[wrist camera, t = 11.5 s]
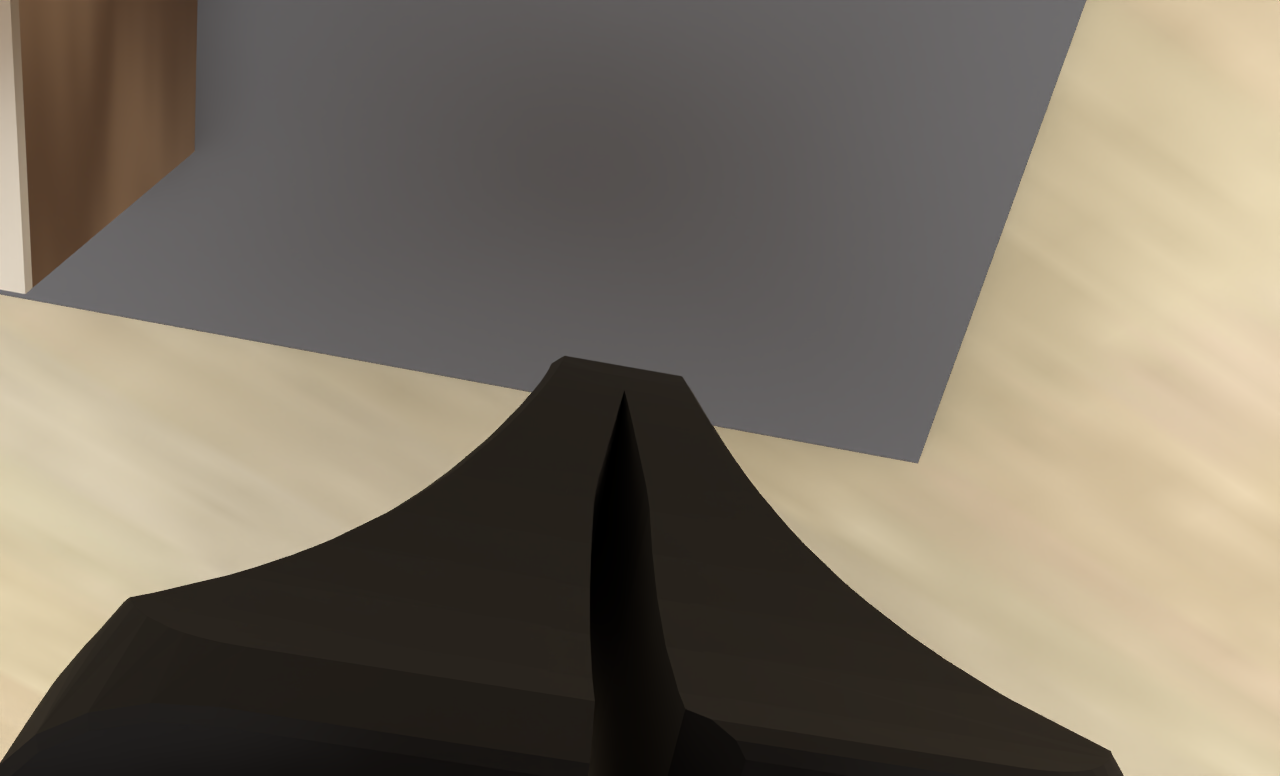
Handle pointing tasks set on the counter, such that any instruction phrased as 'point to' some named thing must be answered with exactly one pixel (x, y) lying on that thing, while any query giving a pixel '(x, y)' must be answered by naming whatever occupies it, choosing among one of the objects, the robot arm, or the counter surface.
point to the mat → (601, 194)
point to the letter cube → (87, 119)
